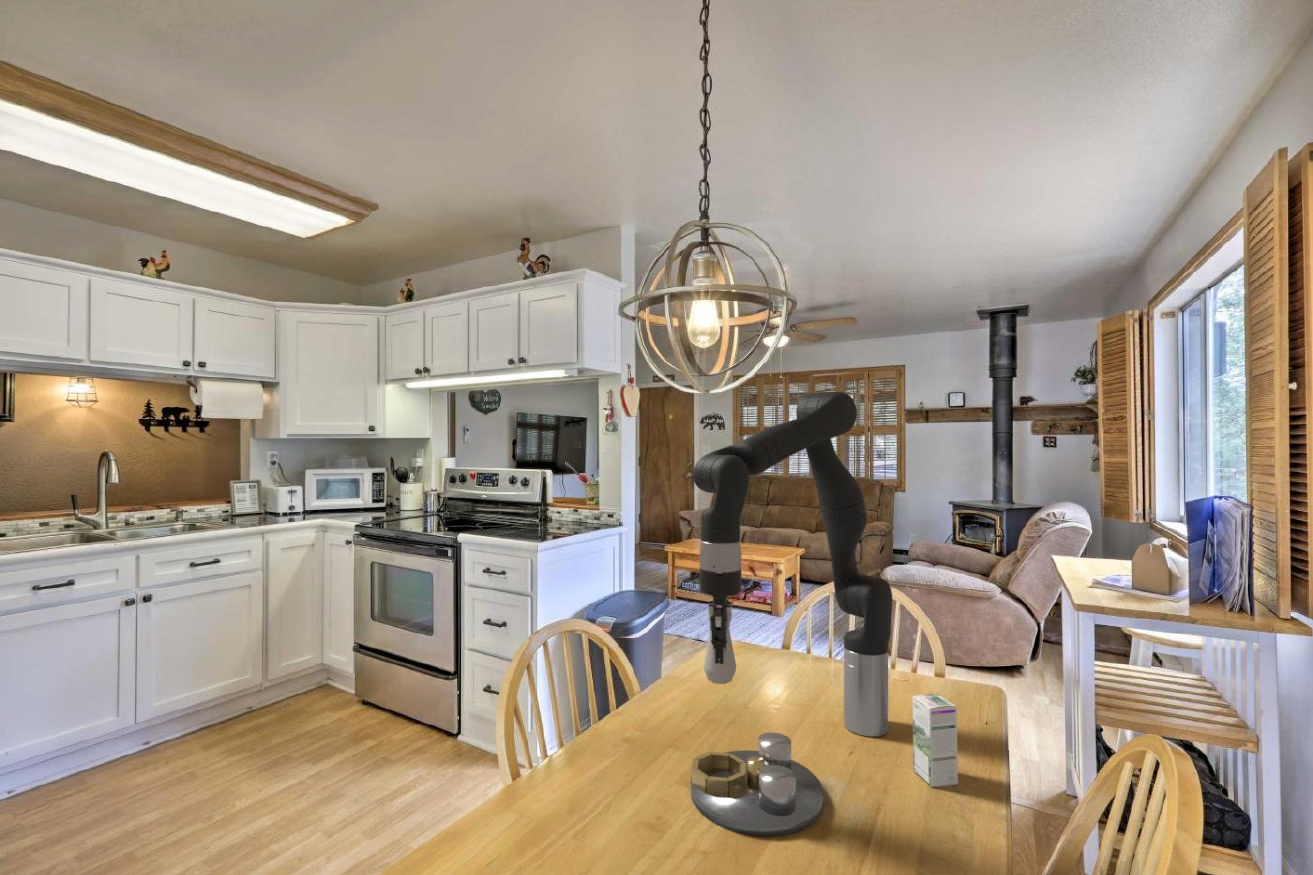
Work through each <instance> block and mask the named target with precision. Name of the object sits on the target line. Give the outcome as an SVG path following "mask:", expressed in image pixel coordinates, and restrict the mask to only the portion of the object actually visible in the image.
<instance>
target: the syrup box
mask: <svg viewBox="0 0 1313 875" xmlns="http://www.w3.org/2000/svg"><path fill="white" fill-rule="evenodd" d="M957 708H958V707H957V705H956V704H954V703H952V702H951V701H949V700H948V699H946V698H945V697H943V696H941V695H940V694H938V693H925V694H924V693H923V694H918V695H912V745H913V746H912V752H913V753H912V756H913V758H912V759H913V763H912V764H913V765H912V766H913V772H914V773H915V774H916V775H918V776H919V777H920V778H921V779H922V780H923V781H924V782H925V783H926V784H927V785H928V786H929V787H932V788H937V787H938V788H939V787H941V788H942V787H950V786H955V785H956V786H957V785H959V774H958V773H959V772H958V770H959V769H958V768H959V766H958V760H959V759H958V709H957Z"/></svg>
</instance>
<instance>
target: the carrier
mask: <svg viewBox="0 0 1313 875" xmlns="http://www.w3.org/2000/svg"><path fill="white" fill-rule="evenodd" d="M757 742H758V745H757V746H758V748H757V749H758V750H731V751H725V752H721V751H720V752H719V751H707V752H705V753H702V754H700V755H698V756H695V757H693V760H692V763H691V764H692V765H691V777H690V797H691V800H692V803H693V805H694V806H695V808H696V810H698V812H699V813H700V814H701V815H702V816H703V817H705V818H706V819H707V820H708V821H710V822H712V823H713V824H715V825H717V826H719V827H721V828H723V829H725V830H727V831H732V832H734V833H737V834H741V835H746V836H754V837H763V838H765V837H766V838H769V837H770V838H771V837H783V836H788V835H793V834H797V833H800V832H801V831H804V830H806V829H808V828H809V827H811V826H813V825H814V824H815V823H816V822H817V821H818V820H819V819H820V817H821V815H822V813H823V811H824V810H823V809H824V788H823V786H822V784H821V782H820V779H818V777H817V775H815V774H814V772H812V771H811V770H810V769H809V768H807V767H806V766H805V765H802V764H801V763H799V762H797V761H795V760H793V759H792V740H791V738H790V737H788V736H787V735H785V734H783V733H778V732H765V733H762V734H760V735H759V736H758V741H757Z"/></svg>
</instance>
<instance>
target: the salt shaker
mask: <svg viewBox="0 0 1313 875" xmlns="http://www.w3.org/2000/svg"><path fill="white" fill-rule="evenodd" d="M732 615H733V611H732V610H731V614H730V616H729V620H730V622H731V621H732V618H733V616H732ZM707 619H708V620H709V621H710V614H709V609H708V610H707ZM715 637H716V638H723V636H722V635H715ZM711 640H712V634H711V631H710V630H709V633H708V638H707V644H706V651H705V657H704V661H703V669H704V673H705V676H706V678H707V680H708V681H710V682H711V683H712V684H717V685H718V684H719V685H725V684H728V683H731V682H732V681H733V678H734V676H735V674H736V670H737V664H736V659H735V658H736V657H735V653H734V646H733V642H732V636H731V631H730V629H729V631H728V632H727V644H726V652H725V647H724V648H723V664H720V663H717V664H715V649H713V645H712V643H711ZM719 651H720V649H719ZM719 655H720V654H719ZM719 660H720V658H719V659H718V661H719Z"/></svg>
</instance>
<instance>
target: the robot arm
mask: <svg viewBox="0 0 1313 875" xmlns="http://www.w3.org/2000/svg"><path fill="white" fill-rule="evenodd" d="M795 410H796V411H795V414H796V418H795V419H792V420H789V421H785V422H782V423H777V424H775V425H772V426H769V427H767V428H764V429H761V430H760V431H758V432H756V433H754V434H752V435H750V436H749V437H745V439H743V440H742V441H739V442H738V443H734V444H732V445H728V446H725V447H723V448H719V449H715V450H714V451H711V452H709V453H707V454H705V455H703V456H702V457H700V459H698V461H697V462H696V463H695V465H694V467H693V469H692V470H693V471H692V479H693V482H694V484H695V486H696V487H697V488H698V489H700V491H703V492H704V493H708V494H716V495H715V500H714V504H713V506H710V507H707V508H705V509H704V510H703V511H702V513H701V517H700V547H699V555H698V556H699V571H698V572H699V580H698V581H699V582H698V586H699V587H698V588H699V591H700V593H701V594H703V595H705V596H711V597H712V600H709V604H708V610H709V614H710V620H709V631H711V634H712V640H711V643H712V645H713V649H715V664H717V663H720V664H723V648H724V647H725V652H726V644H727V632H728V631H729V630H730V626H731V621H730V620H729V616H730V614H731V611H732V609H733V608H732V606H733V605H732V603H733V602H732V601H730V600H729V598H728V597H734V596H737V595H739V594H741V592H742V549H741V548H742V546H741V516H742V513H743V509H744V506H745V502H746V498H747V494H748V490H749V485H750V484H749V483H750V477H751V476H757V475H759V474H762V473H764V472H765V471H767V470H768V469H771V468H772V467H775V466H776V465H777V464H779V463H780V462H783V461H784V460H786V459H788V458H789V457H791V456H793V455H795V454H797V453H799V452H801V451H803V450H805V452H806V455H807V458H808V461H809V464H810V468H811V472H812V476H813V480H814V484H815V488H816V492H817V493H816V494H817V498H818V503H819V504H818V505H819V508H820V513H821V517H822V521H823V525H824V529H825V534H826V539H827V543H828V544H827V545H828V549H829V550H828V551H829V554H830V556H829V557H830V560H831V561H830V562H831V563H830V564H831V568H832V569H831V570H832V572H831V573H832V578H833V579H832V580H833V588H834V595H835V599H836V602H837V605H838V607H839V609H840V610H841V611H842V612H844V613H846V614H848V615H852V616H854V617H859V618H863V628H859V629H853V630H849V631H846V633H845V634H844V636H843V725H844V727H845V728H846V729H847V730H848V731H850V732H851V733H854V734H857V735H859V736H864V737H874V738H875V737H883V736H884V735H886V734H887V733H889V643H890V639H891V635H892V634H891V632H892V614H893V613H892V612H893V594H892V593H893V592H892V588H891V585H890V584H889V582H888V581H887V580H886V579H884V578H882V577H877V576H873V575H867V574H862V573H860V572H859V569H858V567H857V561H856V551H857V546H858V545H859V542H860V540H861V538H862V536H863V534H864V532H865V529H866V526H867V521H868V513H867V508H866V504H865V499H864V495H863V491H862V489H861V487H860V485H859V483H858V482H857V480H856V479H855V478H854V476H853V475H852V473H851V471H849V470H848V468H847V467H846V465H844V463H843V462H842V461H841V460H840V458H839V455H838V454H837V452H836V450H835V448H834V446H833V441H832V439H833V438H837V437H839V436H842V435H845V434H847V433H848V432H850V431H851V430H852V429H853V427H854V426H855V424H856V422H857V417H858V409H857V405H856V402H855V401H854V399H853V398H852V396H851V395H849V394H848V393H846V392H842V391H835V390H834V391H822V392H811V393H809V392H808V393H805V394H803V395H802V396H801V397H800V398H799V400H798V402H797V405H796V409H795ZM715 635H722V636H723V638H716V637H715ZM719 649H720V651H719ZM719 654H720V655H719ZM719 658H720V660H719V661H718V659H719Z"/></svg>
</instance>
